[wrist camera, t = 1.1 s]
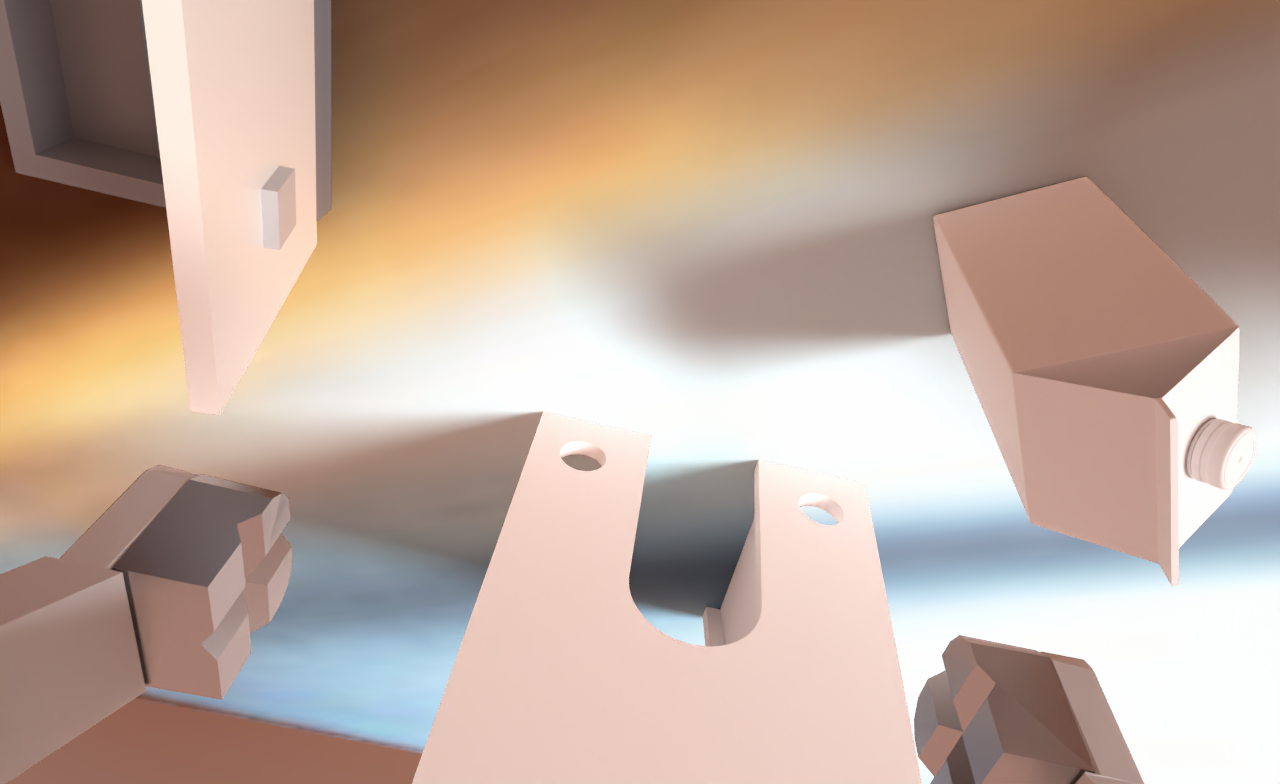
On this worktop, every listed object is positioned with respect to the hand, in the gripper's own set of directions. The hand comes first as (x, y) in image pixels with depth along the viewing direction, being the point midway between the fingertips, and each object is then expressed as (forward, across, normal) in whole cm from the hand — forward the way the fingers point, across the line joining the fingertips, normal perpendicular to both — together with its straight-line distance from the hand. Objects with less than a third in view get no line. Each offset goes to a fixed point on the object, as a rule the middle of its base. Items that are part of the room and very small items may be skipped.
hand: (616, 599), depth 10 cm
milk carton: (+34, -18, +6) cm, 39 cm away
